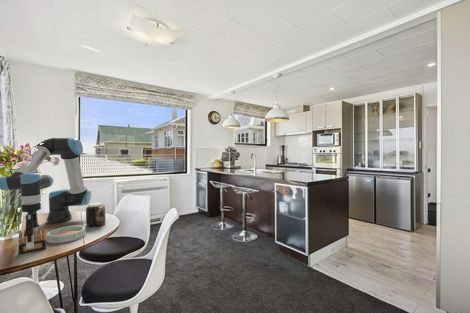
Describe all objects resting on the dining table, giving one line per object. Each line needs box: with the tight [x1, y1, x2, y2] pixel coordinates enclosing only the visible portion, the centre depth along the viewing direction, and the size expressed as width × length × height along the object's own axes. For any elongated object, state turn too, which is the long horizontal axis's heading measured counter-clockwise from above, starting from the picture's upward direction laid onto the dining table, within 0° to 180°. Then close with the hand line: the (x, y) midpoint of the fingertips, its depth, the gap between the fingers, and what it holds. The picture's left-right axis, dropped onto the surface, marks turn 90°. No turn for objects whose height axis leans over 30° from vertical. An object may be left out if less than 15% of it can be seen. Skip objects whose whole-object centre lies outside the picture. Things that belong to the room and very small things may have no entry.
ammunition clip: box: [17, 226, 47, 256], centre depth 117 cm, size 11×2×12 cm, turn 129°
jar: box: [85, 202, 107, 228], centre depth 160 cm, size 12×12×15 cm
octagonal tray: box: [46, 224, 87, 244], centre depth 137 cm, size 19×19×4 cm
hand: (32, 243), depth 117 cm, fingers open, 13 cm apart
